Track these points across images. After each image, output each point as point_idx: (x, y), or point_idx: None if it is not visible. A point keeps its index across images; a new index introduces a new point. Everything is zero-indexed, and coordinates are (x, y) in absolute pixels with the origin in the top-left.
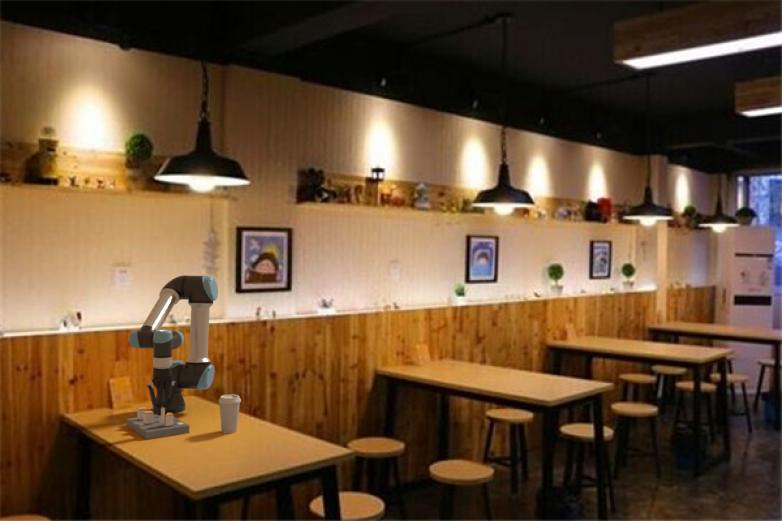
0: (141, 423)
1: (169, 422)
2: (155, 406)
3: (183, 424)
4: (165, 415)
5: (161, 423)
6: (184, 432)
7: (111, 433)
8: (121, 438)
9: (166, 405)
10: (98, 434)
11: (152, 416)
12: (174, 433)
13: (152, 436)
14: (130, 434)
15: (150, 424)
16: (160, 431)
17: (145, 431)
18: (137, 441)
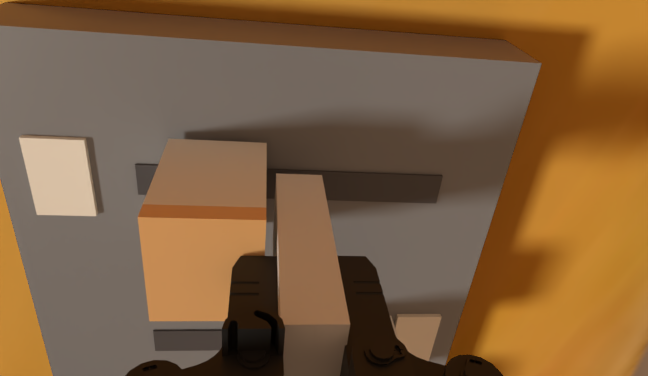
0: None
1: (217, 158)
2: (475, 364)
3: (30, 126)
4: (264, 234)
5: (318, 175)
6: (66, 10)
7: (571, 342)
8: (616, 202)
9: (246, 358)
10: (636, 358)
11: None
12: (196, 20)
13: (452, 42)
14: (500, 263)
15: None
16: (373, 45)
17: (528, 104)
18: (601, 31)
